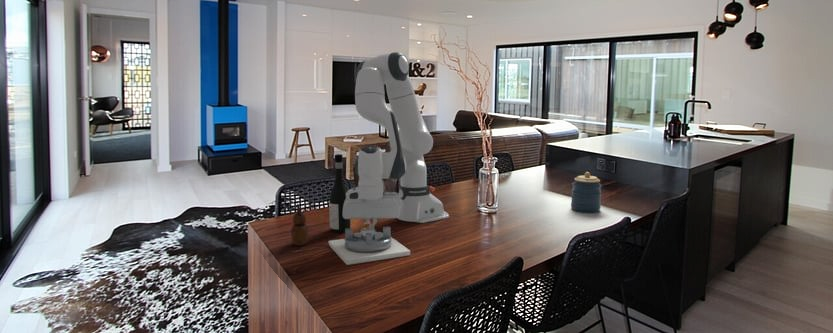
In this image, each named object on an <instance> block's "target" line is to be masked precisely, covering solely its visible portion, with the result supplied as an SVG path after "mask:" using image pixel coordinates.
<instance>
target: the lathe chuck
mask: <svg viewBox="0 0 833 333" xmlns="http://www.w3.org/2000/svg"><path fill="white" fill-rule="evenodd" d="M370 224H371V223H370ZM370 224H367V223H366V221H365V222H363V227H362V228H360V232H354V231H353V227H350V228H345V232H344V233H345V234H344V235H345V237H344V239H345V248H346V249H348V250H350V251H353V252H359V253H373V252H380V251H384V250H386V249H388V248H390V247H391V237H392V236H391V234H392V233H391V226H383V227H382V232H381V231H376V228H375V227H374V228H370ZM353 232H354V233H353Z"/></svg>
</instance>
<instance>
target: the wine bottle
mask: <svg viewBox="0 0 833 333" xmlns="http://www.w3.org/2000/svg"><path fill="white" fill-rule="evenodd" d="M343 157H344V156H343V154H341V153H339V154H338V153H337V154H334V166H335V168H334V170H335V171H334V172H335V179H334V183H333V187H332V189H331V191H330V194H329V200H328V206H329V207H328V209H329V210H328V211H329V212H328V214H329V230H330V231H332V232H333V233H345V228H351V219H344V218H343V205H344V201H345V199H346V192H347V191H348V189H347V187H346V185H345V182H344V177H343V159H344V158H343Z"/></svg>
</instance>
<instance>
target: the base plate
mask: <svg viewBox="0 0 833 333" xmlns="http://www.w3.org/2000/svg"><path fill="white" fill-rule="evenodd" d="M328 246H329V247H330V248H331V249H332V250H333V252H335V253H336V255H337V256H338V257H339V258H340V260H342V261H343V262H344V263H345V265H347V266H348V265H349V266H350V265H356V264H361V263H368V262H374V261H375V262H376V261H381V260H389V259H393V258H400V257H407V256H411V250H410V249H409V248H407V247H406V246H404V245H403V244H401V243H400V242H399V241H398V240H396V239H395V238H393V237H392V236H391V247H390V248H388V249H386V250H384V251H380V252H373V253H359V252H353V251H350V250H348V249H346V248H345V238H340V239H331V240H328Z"/></svg>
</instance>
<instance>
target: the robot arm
mask: <svg viewBox="0 0 833 333" xmlns="http://www.w3.org/2000/svg"><path fill="white" fill-rule="evenodd" d="M409 72H410V63H409V59H408V58H407V56H406V55H404V53H403V52H400V51H399V52H398V51H395V52H390V53H385V54H379V55H377V56H375V57H371V58H370V59H365V60H363V61H361V62H359V64H358V66H357V68H356V81H355V89H354V92H355V94H354V99H355V100H354V101H355V103H354V104H355V110H356V111H357V112H356V113H358V114H359V115H360V117H362V118H363V119H365V120H367V121H369V122H372V123H374V124H377V125H379V126H381V127H383V128H384V129H385V131H386V133H387V137H388V140H389V141H388V142H389V146H390V151H389V152H382V149H381V147H380V146H377V145H364V146H361V147H360V148H359V151H358V156H356V158H355V159H354V165H355V166H354V168H355V170H354V171H355V172H354V174H355V175H357V176H358V184H357V186H356V187H353V188H350V189H347V192H346V199H345V201H344V205H343V218H344V219H350V220H360V219H361V220H365V222H366V223H367V224H370V228H374V229H375V226H376V224H377V222H378V219H398V220H399V221H404V222H410V223H420V224H424V223H429V222H434V221H439V220H444V219H448V218H450V215H449V213H448V212H447V211H445V210H444V205H443V202H442V201H441V200H440V199H438V198H437V197H436V196H434V195H433V194H432V192H434V191H435V187H434V186H429V185H427V177H428V176H427V174H428V173H427V165H426V162H425V158H424V155H427V154H428V153H429V152H430V151H431V150H432V149H433V145H434V138H433V136H432V135H431V133H430V131H429V130H428V126H427V125H426V121H425V120H424V118H423V116H422V113H421V111H420V108H419V104H418V103H419V102H418V101H417V96H416V93H415V90H414V89H415V88H414V86H413V83H412V81H411V78H410V76H409ZM385 87H386V88H385ZM385 89H386V94H387V99H388V102H389V106H390V108H389V106H388V105H387V102H386V98H385V97H386V96H385ZM383 179H389V180H400V185H399V192H396V191H384V180H383ZM371 219H373V220H372V221H373V222H372V223H371V222H370V220H371Z"/></svg>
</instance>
